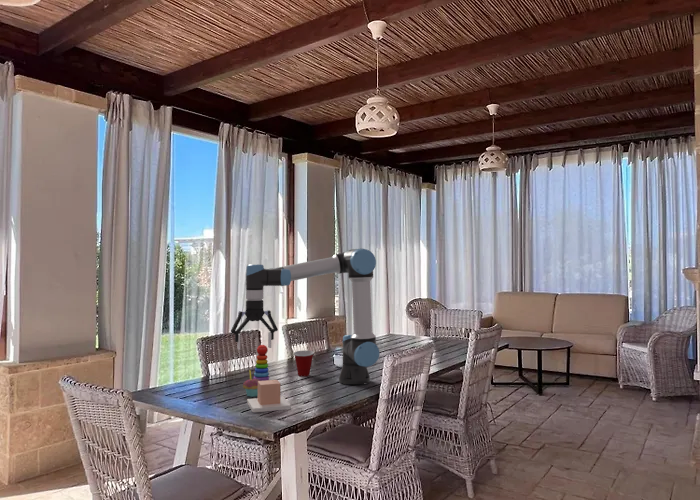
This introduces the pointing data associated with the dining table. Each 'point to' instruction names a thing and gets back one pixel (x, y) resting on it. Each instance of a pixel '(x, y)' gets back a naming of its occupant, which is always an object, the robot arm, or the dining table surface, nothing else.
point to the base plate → (257, 407)
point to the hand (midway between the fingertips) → (254, 348)
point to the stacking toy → (261, 364)
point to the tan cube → (268, 392)
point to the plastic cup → (303, 362)
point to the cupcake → (251, 386)
